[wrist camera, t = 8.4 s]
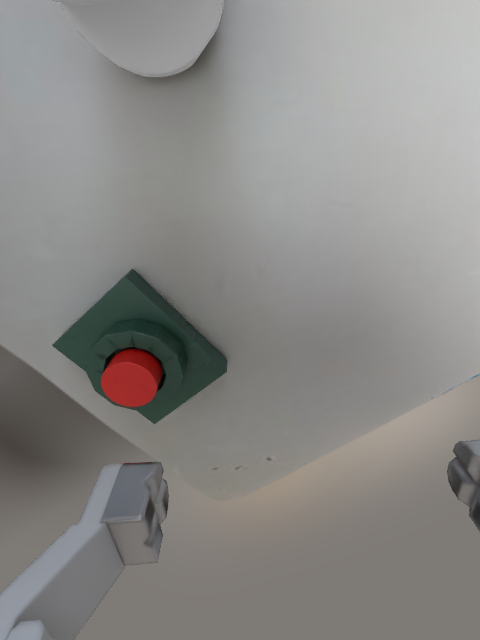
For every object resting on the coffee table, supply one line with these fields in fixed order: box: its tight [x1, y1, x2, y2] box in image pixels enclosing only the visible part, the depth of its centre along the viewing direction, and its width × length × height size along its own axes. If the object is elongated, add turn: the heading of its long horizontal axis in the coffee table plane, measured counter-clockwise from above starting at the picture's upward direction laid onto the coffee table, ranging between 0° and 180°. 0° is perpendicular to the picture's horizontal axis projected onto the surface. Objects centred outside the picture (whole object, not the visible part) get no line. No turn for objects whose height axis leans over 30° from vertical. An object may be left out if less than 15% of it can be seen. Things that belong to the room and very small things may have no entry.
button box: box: [52, 269, 227, 424], centre depth 24 cm, size 10×8×4 cm
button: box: [101, 348, 162, 407], centre depth 22 cm, size 4×4×2 cm
